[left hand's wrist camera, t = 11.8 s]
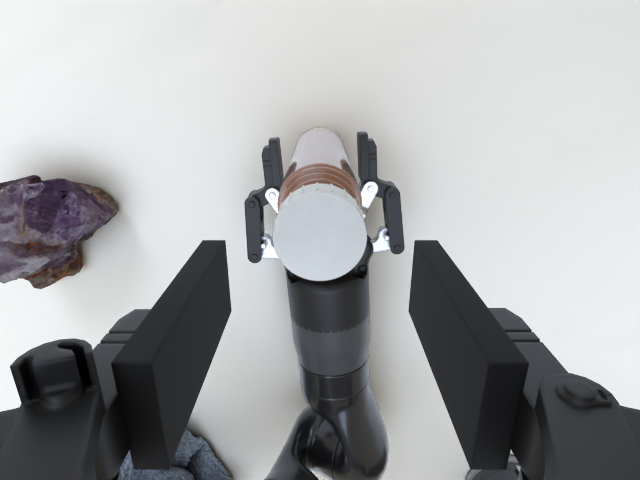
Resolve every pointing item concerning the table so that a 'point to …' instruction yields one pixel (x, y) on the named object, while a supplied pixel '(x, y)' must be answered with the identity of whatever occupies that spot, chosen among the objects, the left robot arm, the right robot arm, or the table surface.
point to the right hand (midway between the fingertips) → (317, 136)
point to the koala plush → (182, 464)
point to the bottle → (319, 165)
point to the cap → (319, 232)
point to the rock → (47, 227)
